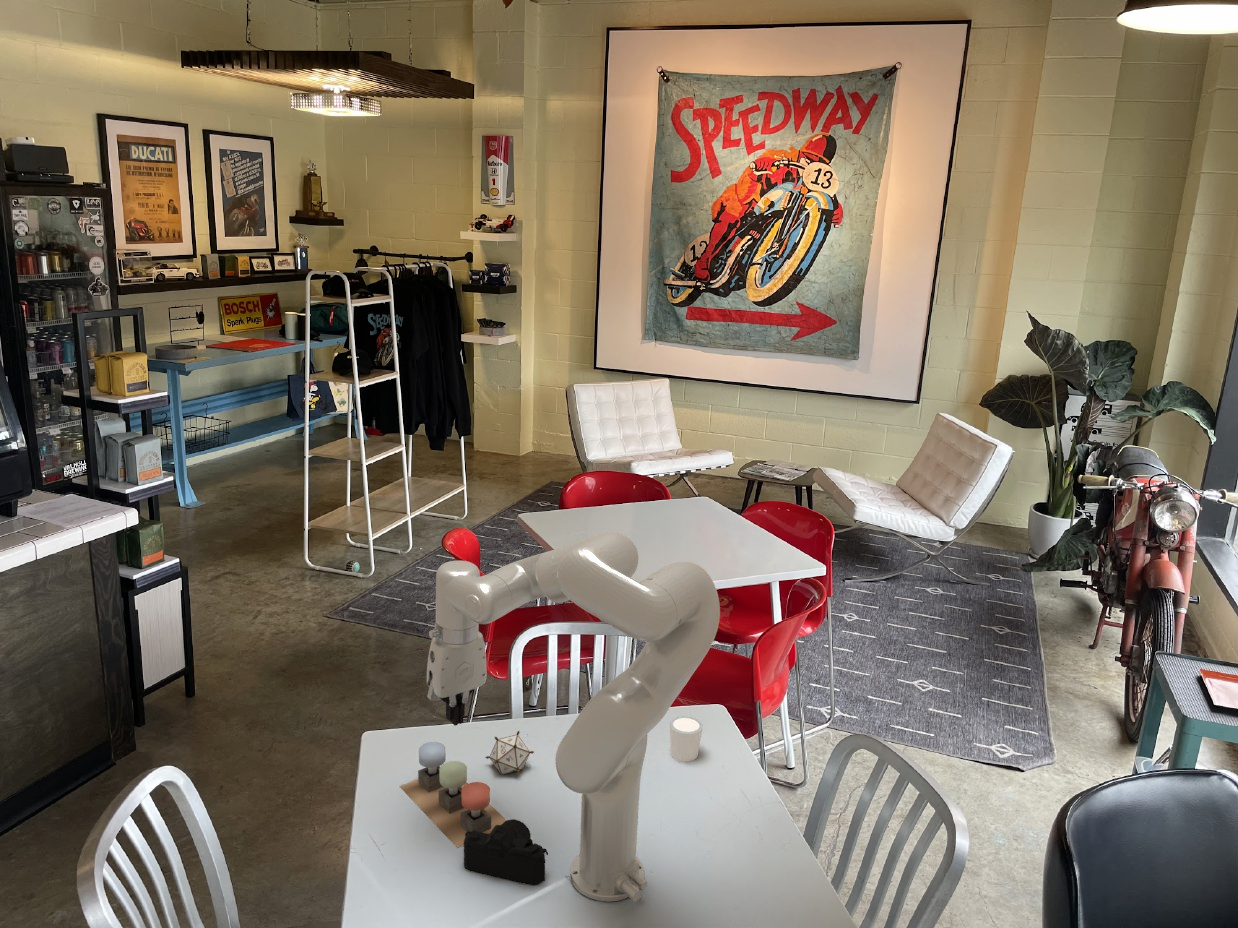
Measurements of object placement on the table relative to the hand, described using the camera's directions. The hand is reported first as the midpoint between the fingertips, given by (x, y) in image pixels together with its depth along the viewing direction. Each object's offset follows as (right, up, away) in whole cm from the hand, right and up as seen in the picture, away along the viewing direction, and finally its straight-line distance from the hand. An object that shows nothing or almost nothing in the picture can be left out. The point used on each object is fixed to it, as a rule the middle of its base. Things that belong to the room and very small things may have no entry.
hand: (455, 720), depth 170 cm
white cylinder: (+44, -14, +25) cm, 52 cm away
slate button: (-6, -12, +9) cm, 17 cm away
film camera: (+11, -23, -10) cm, 27 cm away
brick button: (+4, -16, -3) cm, 17 cm away
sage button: (-1, -14, +3) cm, 15 cm away
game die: (+8, -15, +17) cm, 24 cm away
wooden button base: (-1, -18, +4) cm, 19 cm away
